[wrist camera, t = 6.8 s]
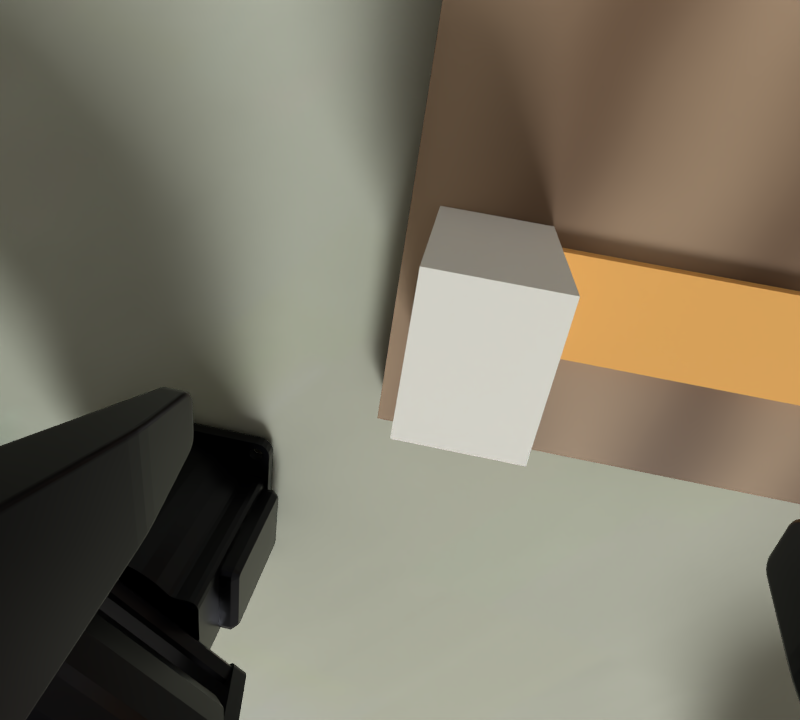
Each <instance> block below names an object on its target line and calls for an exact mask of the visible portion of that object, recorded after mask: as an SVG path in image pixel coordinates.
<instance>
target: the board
mask: <svg viewBox="0 0 800 720" xmlns="http://www.w3.org/2000/svg"><path fill="white" fill-rule="evenodd" d="M440 206H445V207H450V208H456V209H461V210H467V211H472V212H478V213H483V214H489V215H494V216H499V217H505V218H510V219H516V220H521V221H527V222H532V223H538V224H543V225H549V226H554V227H555V230H556V233H557V235H558V238H559V241H560V244H561V246H562V248H568V249H573V250H578V251H584V252H589V253H595V254H600V255H606V256H611V257H616V258H622V259H627V260H633V261H638V262H643V263H649V264H654V265H660V266H665V267H671V268H676V269H681V270H687V271H692V272H698V273H703V274H708V275H714V276H719V277H725V278H730V279H736V280H741V281H746V282H752V283H757V284H763V285H768V286H773V287H779V288H784V289H790V290H795V291H800V0H442V7H441V13H440V19H439V26H438V32H437V39H436V45H435V52H434V58H433V64H432V71H431V77H430V84H429V90H428V97H427V103H426V109H425V116H424V122H423V129H422V135H421V141H420V148H419V154H418V161H417V167H416V174H415V180H414V186H413V193H412V199H411V206H410V212H409V218H408V225H407V231H406V238H405V244H404V251H403V257H402V263H401V270H400V276H399V283H398V289H397V296H396V302H395V308H394V315H393V321H392V328H391V334H390V340H389V347H388V353H387V360H386V366H385V373H384V379H383V385H382V392H381V398H380V405H379V411H378V417H377V418H380V419H384V420H389V421H393V419H394V413H395V408H396V402H397V396H398V390H399V384H400V379H401V373H402V367H403V361H404V355H405V349H406V344H407V338H408V332H409V326H410V320H411V315H412V309H413V303H414V297H415V291H416V286H417V280H418V274H419V268H420V264H421V261H422V258H423V255H424V252H425V249H426V247H427V244H428V241H429V238H430V235H431V232H432V229H433V226H434V223H435V220H436V217H437V214H438V211H439V208H440ZM532 450H537V451H542V452H547V453H552V454H557V455H561V456H566V457H571V458H576V459H581V460H586V461H591V462H596V463H601V464H606V465H611V466H616V467H620V468H625V469H630V470H635V471H640V472H645V473H650V474H655V475H660V476H665V477H670V478H675V479H679V480H684V481H689V482H694V483H699V484H704V485H709V486H714V487H719V488H724V489H729V490H734V491H739V492H743V493H748V494H753V495H758V496H763V497H768V498H773V499H778V500H783V501H788V502H793V503H798V504H800V406H799V405H794V404H789V403H784V402H778V401H773V400H768V399H763V398H758V397H753V396H748V395H742V394H737V393H732V392H727V391H722V390H717V389H712V388H706V387H701V386H696V385H691V384H686V383H681V382H676V381H671V380H665V379H660V378H655V377H650V376H645V375H640V374H635V373H629V372H624V371H619V370H614V369H609V368H604V367H599V366H593V365H588V364H583V363H578V362H573V361H568V360H563V359H560V361H559V364H558V367H557V370H556V374H555V377H554V380H553V383H552V386H551V389H550V392H549V396H548V399H547V402H546V405H545V408H544V411H543V414H542V417H541V421H540V424H539V427H538V430H537V433H536V436H535V439H534V443H533V446H532Z"/></svg>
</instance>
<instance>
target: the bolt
mask: <svg viewBox="0 0 800 720" xmlns="http://www.w3.org/2000/svg"><path fill="white" fill-rule="evenodd" d="M560 359H563V360H568V361H573V362H578V363H583V364H588V365H593V366H599V367H604V368H609V369H614V370H619V371H624V372H629V373H635V374H640V375H645V376H650V377H655V378H660V379H665V380H671V381H676V382H681V383H686V384H691V385H696V386H701V387H706V388H712V389H717V390H722V391H727V392H732V393H737V394H742V395H748V396H753V397H758V398H763V399H768V400H773V401H778V402H784V403H789V404H794V405H799V406H800V291H795V290H790V289H784V288H779V287H773V286H768V285H763V284H757V283H752V282H746V281H741V280H736V279H730V278H725V277H719V276H714V275H708V274H703V273H698V272H692V271H687V270H681V269H676V268H671V267H665V266H660V265H654V264H649V263H643V262H638V261H633V260H627V259H622V258H616V257H611V256H606V255H600V254H595V253H589V252H584V251H578V250H573V249H568V248H562V246H561V244H560V241H559V238H558V235H557V233H556V230H555V227H554V226H549V225H543V224H538V223H532V222H527V221H521V220H516V219H510V218H505V217H499V216H494V215H489V214H483V213H478V212H472V211H467V210H461V209H456V208H450V207H445V206H440V208H439V211H438V214H437V217H436V220H435V223H434V226H433V229H432V232H431V235H430V238H429V241H428V244H427V247H426V249H425V252H424V255H423V258H422V261H421V264H420V268H419V274H418V280H417V286H416V291H415V297H414V303H413V309H412V315H411V320H410V326H409V332H408V338H407V344H406V349H405V355H404V361H403V367H402V373H401V379H400V384H399V390H398V396H397V402H396V408H395V413H394V419H393V425H392V431H391V437H390V439H394V440H399V441H404V442H409V443H414V444H419V445H423V446H428V447H433V448H438V449H443V450H448V451H453V452H458V453H462V454H467V455H472V456H477V457H482V458H487V459H492V460H497V461H502V462H506V463H511V464H516V465H521V466H526V465H527V461H528V458H529V455H530V452H531V449H532V446H533V443H534V439H535V436H536V433H537V430H538V427H539V424H540V421H541V417H542V414H543V411H544V408H545V405H546V402H547V399H548V396H549V392H550V389H551V386H552V383H553V380H554V377H555V374H556V370H557V367H558V364H559V361H560Z"/></svg>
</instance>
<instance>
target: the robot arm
mask: <svg viewBox="0 0 800 720" xmlns="http://www.w3.org/2000/svg"><path fill="white" fill-rule="evenodd" d="M254 449H258V450H260V451H261V452H262V454H259V453H257V452H256V451H255V450H254ZM272 460H273V448H272V445H271V444H270V442H268V441H267V440H266V439H264V438H261V437H257V436H252V435H247V434H242V433H238V432H233V431H228V430H223V429H218V428H214V427H209V426H204V425H199V424H194V423H193V404H192V398H191V395H190V394H189V393H188V392H186V391H182V390H177V389H172V388H167V387H162V388H159V389H156V390H153V391H151V392H148V393H145V394H142V395H140V396H137V397H134V398H131V399H129V400H126V401H123V402H120V403H118V404H115V405H112V406H109V407H106V408H104V409H101V410H98V411H95V412H93V413H90V414H87V415H84V416H82V417H79V418H76V419H73V420H71V421H68V422H65V423H62V424H60V425H57V426H54V427H51V428H49V429H46V430H43V431H40V432H37V433H35V434H32V435H29V436H26V437H24V438H21V439H18V440H15V441H13V442H10V443H7V444H4V445H2V446H0V720H239V716H240V710H241V703H242V697H243V691H244V685H245V679H246V673H245V672H244V671H242V670H241V669H240V668H239V667H237V666H236V665H235V664H233V663H232V664H230V665H229V664H228V663H227V662H226V661H224V660H223V659H222V658H220V657H219V656H218V655H216V654H215V653H214V652H213V651H211V650H210V648H211V646H212V644H213V642H214V640H215V638H216V636H217V633H218V631H219V629H220V627H223V628H227V629H232V628H234V627H235V626H237V625H238V624H239V623H240V621H241V619H242V616H243V614H244V612H245V610H246V607H247V605H248V603H249V600H250V598H251V596H252V594H253V591H254V589H255V587H256V585H257V582H258V580H259V578H260V576H261V573H262V571H263V569H264V567H265V564H266V562H267V560H268V558H269V555H270V553H271V551H272V549H273V546H274V544H275V540H276V524H277V508H278V496H277V494H276V493H275V491H273V490H271V479H272ZM766 572H767V578H768V583H769V587H770V591H771V595H772V599H773V604H774V608H775V612H776V616H777V621H778V625H779V629H780V633H781V637H782V642H783V646H784V650H785V654H786V658H787V662H788V666H789V670H790V673H791V677H792V680H793V683H794V687H795V690H796V693H797V696H798V699H799V702H800V519H798V520H795V521H793V522H792V523H791V524H790V525H789V526H788V528H787V530H786V531H785V533H784V534H783V536H782V537H781V539H780V541H779V542H778V544H777V545H776V547H775V548H774V550H773V552H772V553H771V555H770V556H769V558H768V562H767V567H766Z"/></svg>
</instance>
